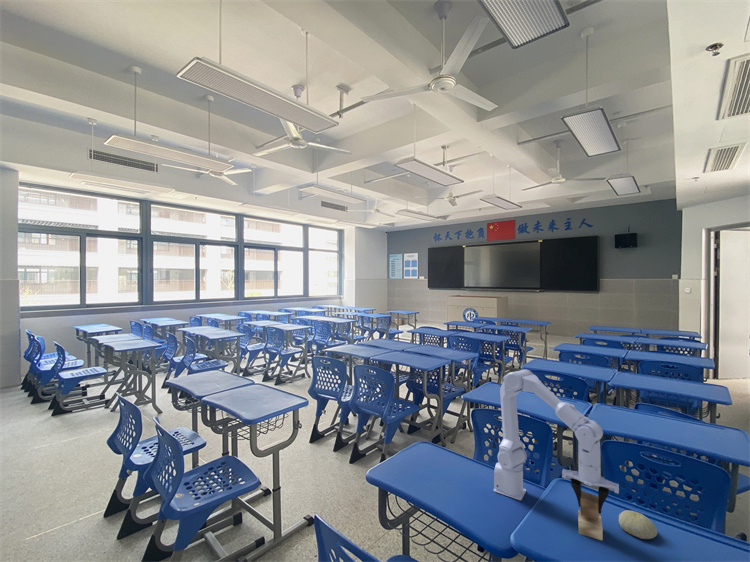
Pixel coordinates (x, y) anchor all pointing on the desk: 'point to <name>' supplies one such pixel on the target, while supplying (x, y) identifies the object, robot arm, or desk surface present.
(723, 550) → the desk surface
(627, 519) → the sea urchin shell
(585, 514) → the walnut block
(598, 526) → the beech base
